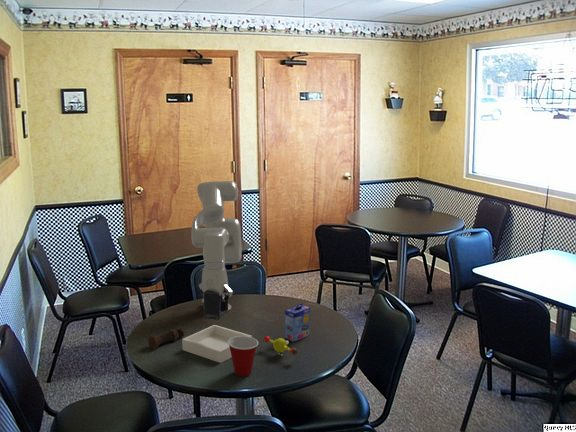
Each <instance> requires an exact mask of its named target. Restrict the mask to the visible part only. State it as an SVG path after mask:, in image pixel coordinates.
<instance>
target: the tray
mask: <svg viewBox="0 0 576 432" xmlns="http://www.w3.org/2000/svg"><path fill="white" fill-rule="evenodd" d="M237 336H247V337H252V338H253V335H251V334H248V333H244V332H241V331H239V330H234V329H230V328H227V327H223V326H220V325H216V324H213V325H211V326H209V327H207V328H203V329H202V330H200V331H197V332H196V333H193V334H190V335H188V336H185V337H184V338H182V339H181V340H182V341H181V342H182V351H185V352H188V353H191V354H194V355H196V356H199V357H202V358H205V359H209V360H211V361H213V362H216V363H219V364H222V363H224V362H225V361H227V360H231V359H232V356H231V351H230V347H229V344H228V340H229V339H230V338H232V337H237Z"/></svg>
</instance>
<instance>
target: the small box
mask: <svg viewBox="0 0 576 432" xmlns="http://www.w3.org/2000/svg"><path fill="white" fill-rule="evenodd" d="M227 294H228V293H227ZM223 296H224V295H223ZM203 298H204V302H203V318H204V320H205V319H206V320H207V319H208V320H217V321H218V320H220V319H221V318H222V317H223V316H224V315H225V314H226V313H227V312H229V311H228V310H226V311H224V312H222V311H221V302H222V299H221V296H220V295H219V293H216V292H213V291H209V290H206V291H205V292H204V297H203ZM224 298H225V296H224Z"/></svg>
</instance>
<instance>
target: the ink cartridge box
mask: <svg viewBox="0 0 576 432" xmlns="http://www.w3.org/2000/svg"><path fill="white" fill-rule="evenodd" d="M310 311H311V307H310V306H308V305H307V306H306V305H304V302H301V303H299V304H297V305H296V306H294V307H289V308H287V309H285V310H284V313H285V314H284V318H285V319H284V339H285V340H286V339H287V340H288V341H290V342H296V341H298V340H301V339H303V338H306V337H308V336H309V335H310V322H311V321H310V320H311V316H310V315H311V313H310Z"/></svg>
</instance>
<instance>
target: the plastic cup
mask: <svg viewBox="0 0 576 432" xmlns="http://www.w3.org/2000/svg"><path fill="white" fill-rule="evenodd" d="M228 344H229V347H230V351H231V356H232V358H231V361H232V365H233V370H234V373H235V375H236V376H239V377H247V376H250V375H251V374H252V371H253V367H254V360H255V354H256V350H257V347H258V345H259V341H258V339H256V338H254V337H253V336H252V337H247V336H237V337H232V338H230V339H229V340H228Z"/></svg>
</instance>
